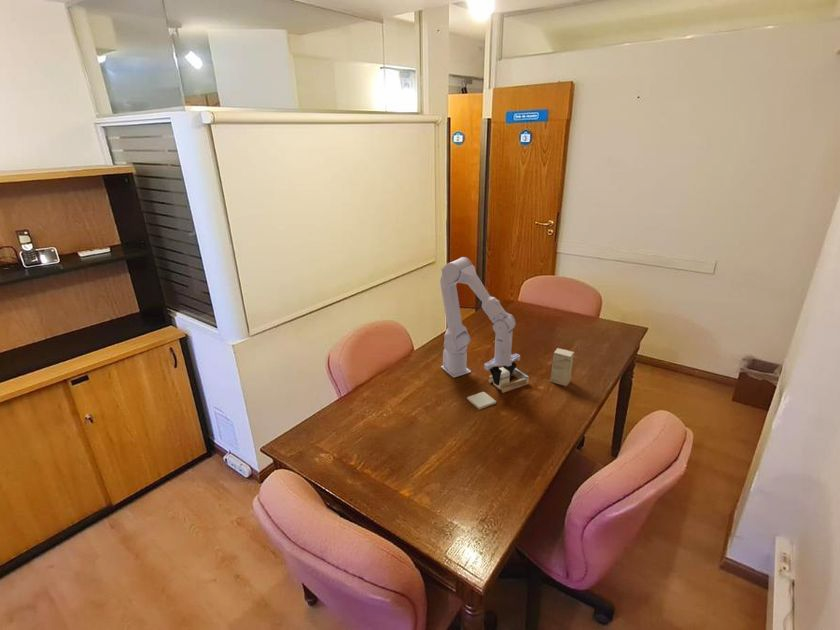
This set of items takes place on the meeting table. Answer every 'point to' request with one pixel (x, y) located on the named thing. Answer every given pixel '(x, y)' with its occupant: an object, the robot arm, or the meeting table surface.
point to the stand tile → (481, 400)
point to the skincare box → (562, 366)
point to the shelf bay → (515, 384)
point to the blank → (503, 378)
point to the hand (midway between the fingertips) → (501, 382)
